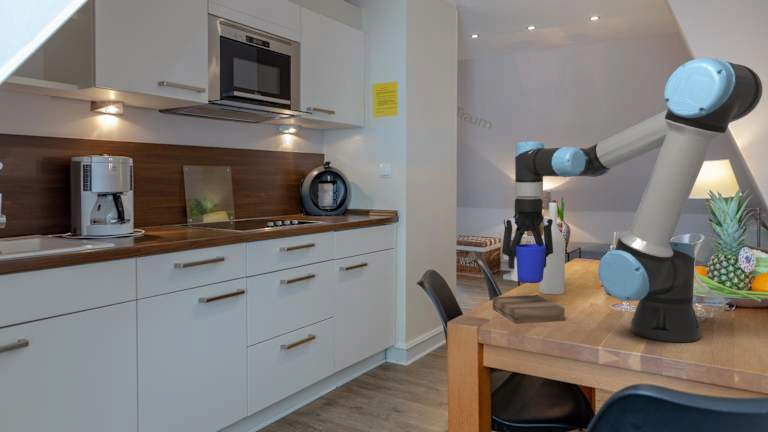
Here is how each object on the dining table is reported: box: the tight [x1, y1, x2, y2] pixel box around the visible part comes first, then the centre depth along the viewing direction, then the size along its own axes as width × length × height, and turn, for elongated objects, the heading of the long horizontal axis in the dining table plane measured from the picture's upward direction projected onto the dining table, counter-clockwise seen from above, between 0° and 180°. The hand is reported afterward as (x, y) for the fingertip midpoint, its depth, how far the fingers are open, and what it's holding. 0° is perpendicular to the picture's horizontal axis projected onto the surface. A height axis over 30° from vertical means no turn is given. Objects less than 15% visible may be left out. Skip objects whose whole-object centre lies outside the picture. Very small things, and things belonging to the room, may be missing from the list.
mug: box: [515, 243, 546, 284], centre depth 152 cm, size 8×12×10 cm
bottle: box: [538, 202, 566, 295], centre depth 181 cm, size 8×8×30 cm
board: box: [492, 294, 565, 324], centre depth 153 cm, size 16×14×4 cm
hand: (527, 279), depth 152 cm, fingers closed on mug, 7 cm apart
